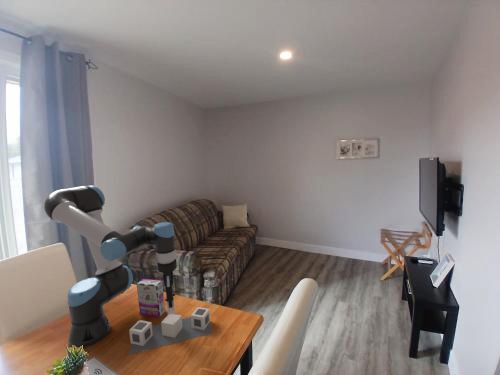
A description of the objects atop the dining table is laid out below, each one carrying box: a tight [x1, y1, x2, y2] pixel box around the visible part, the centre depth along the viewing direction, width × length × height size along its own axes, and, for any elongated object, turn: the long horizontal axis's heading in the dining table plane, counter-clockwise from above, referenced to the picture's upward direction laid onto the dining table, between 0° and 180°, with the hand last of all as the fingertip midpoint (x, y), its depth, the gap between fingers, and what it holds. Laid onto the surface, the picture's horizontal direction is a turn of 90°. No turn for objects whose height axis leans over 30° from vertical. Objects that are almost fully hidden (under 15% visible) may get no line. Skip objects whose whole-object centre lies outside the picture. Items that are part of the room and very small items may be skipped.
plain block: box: [160, 313, 183, 338], centre depth 106 cm, size 6×6×6 cm
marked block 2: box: [190, 306, 211, 330], centre depth 109 cm, size 6×6×6 cm
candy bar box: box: [136, 278, 166, 318], centre depth 118 cm, size 11×5×16 cm, turn 76°
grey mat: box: [129, 316, 213, 355], centre depth 106 cm, size 32×14×1 cm, turn 108°
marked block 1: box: [129, 319, 153, 346], centre depth 102 cm, size 6×6×6 cm
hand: (171, 312), depth 105 cm, fingers closed
